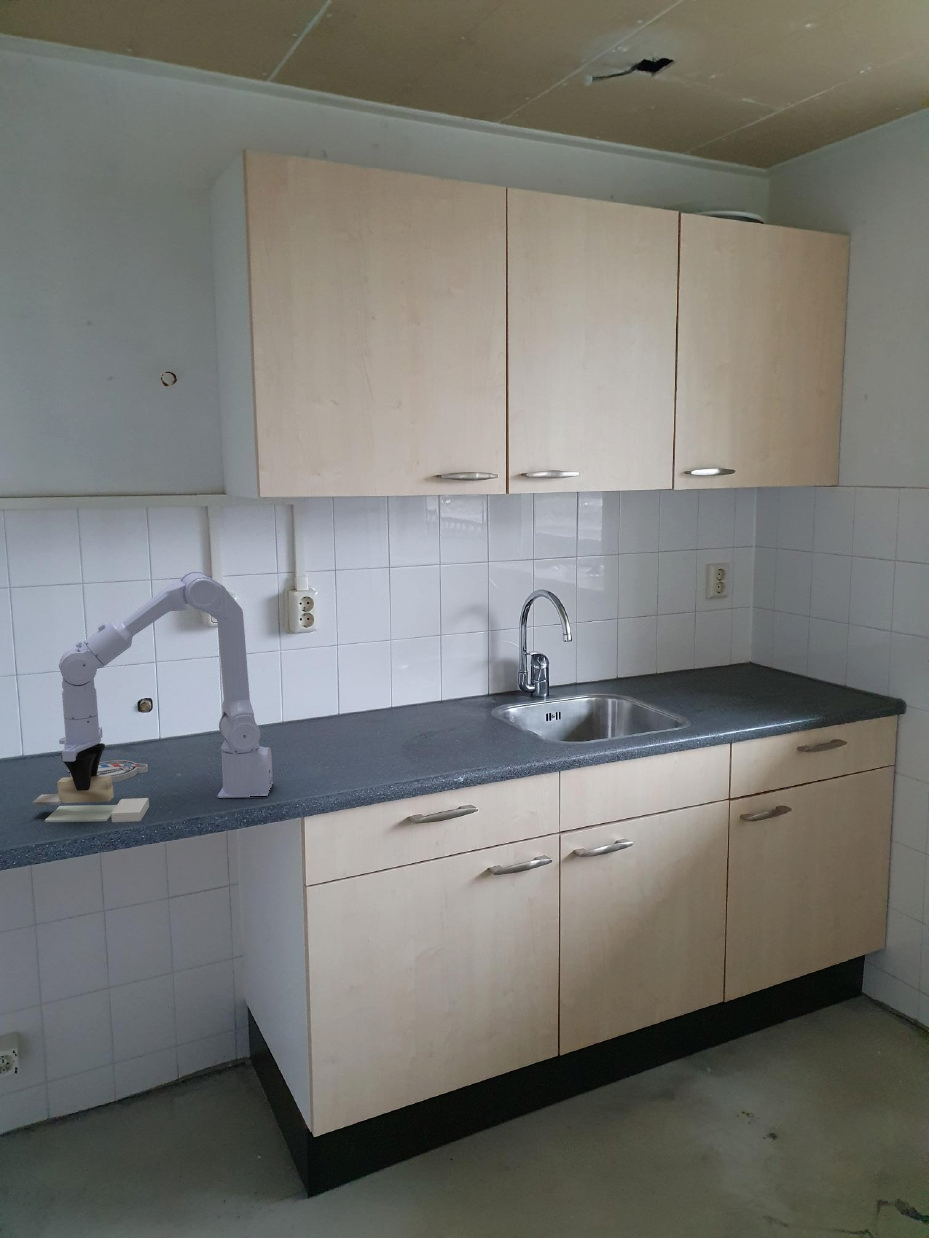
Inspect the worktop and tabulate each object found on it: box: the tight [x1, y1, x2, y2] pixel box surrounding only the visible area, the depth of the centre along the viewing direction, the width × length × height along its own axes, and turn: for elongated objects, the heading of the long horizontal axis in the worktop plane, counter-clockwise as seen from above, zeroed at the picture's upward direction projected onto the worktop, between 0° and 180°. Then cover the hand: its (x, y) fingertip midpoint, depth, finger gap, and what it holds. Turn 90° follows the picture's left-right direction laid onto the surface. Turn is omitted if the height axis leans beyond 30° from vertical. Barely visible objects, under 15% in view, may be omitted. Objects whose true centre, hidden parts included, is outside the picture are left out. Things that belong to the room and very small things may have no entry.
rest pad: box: [44, 804, 117, 823], centre depth 172 cm, size 11×7×1 cm, turn 92°
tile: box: [110, 797, 150, 823], centre depth 172 cm, size 5×2×7 cm
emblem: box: [66, 759, 149, 783], centre depth 194 cm, size 12×2×15 cm
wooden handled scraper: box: [31, 776, 115, 807], centre depth 171 cm, size 14×4×4 cm, turn 92°
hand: (86, 786), depth 171 cm, fingers closed on wooden handled scraper, 2 cm apart
